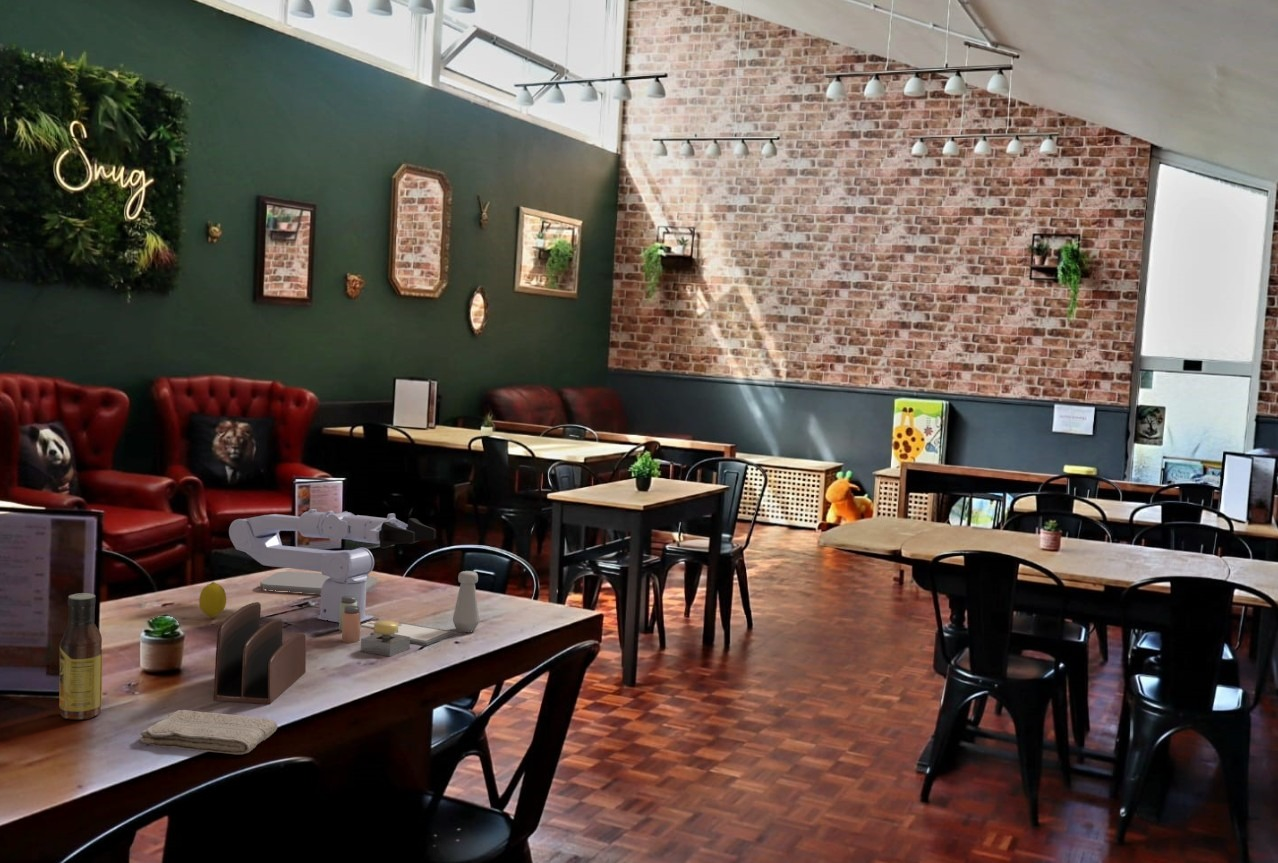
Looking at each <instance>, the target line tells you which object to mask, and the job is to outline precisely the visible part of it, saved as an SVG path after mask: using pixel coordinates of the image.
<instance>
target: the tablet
mask: <svg viewBox="0 0 1278 863" xmlns="http://www.w3.org/2000/svg"><path fill="white" fill-rule="evenodd" d="M328 578H331V577H329V576H326V575H322V573H321V572H320V573H319V572H301V571H278V572H275V573H274V574H272V575H270V576H267V577H266V578H264V579H262V580H260V582H259V583H260V584H259V585H260V586H261V587H262V590H263V589H266V590H273V591H275V590H276V591H288V592H289V591H290V592H302V593H315V594H321V589H322V586H323V583H324V582H325V581H326V580H327V579H328ZM378 580H379V579H378V578H377V577H373V576H368V579H367V580H366V594H367V593H368V592H370V591H371V590H372V589H375V585H376V584H377V583H378Z"/></svg>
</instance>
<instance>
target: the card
mask: <svg viewBox="0 0 1278 863" xmlns="http://www.w3.org/2000/svg"><path fill="white" fill-rule="evenodd" d="M376 622H377V621H374V620H371V621H368V622H365V623H360V627H365V628H371V629H374V623H376Z"/></svg>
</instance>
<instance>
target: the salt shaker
mask: <svg viewBox="0 0 1278 863" xmlns="http://www.w3.org/2000/svg"><path fill="white" fill-rule="evenodd" d="M457 578H458V579H457V580H458V583H460V586H459V589H458V593H457V594H458V595H457V597H456V598H457V599H456V603H455V608H454V612H453V616H452V622H453V625H454V628H455V630H456V631H457V632H458V631H459V633H465V632H468V633H472V632H471V631H474V632H475V630H476V629H477V627H478V625H479V623H480V614H479V607H478V601H477V600H478V598H477V593H476V592H477V591H476V584H477V583H478V581H479V575H478V573H477V572H475V571H473V570H465V571H464V570H463V571H461V572H459V573H458V576H457Z"/></svg>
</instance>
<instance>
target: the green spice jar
mask: <svg viewBox="0 0 1278 863" xmlns="http://www.w3.org/2000/svg"><path fill="white" fill-rule="evenodd" d="M346 606H357V601H356V597H354V596H343V597H342V601H340V616H339V622H338V631H341V632H342V622H343V611H344V608H345V607H346Z"/></svg>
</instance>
